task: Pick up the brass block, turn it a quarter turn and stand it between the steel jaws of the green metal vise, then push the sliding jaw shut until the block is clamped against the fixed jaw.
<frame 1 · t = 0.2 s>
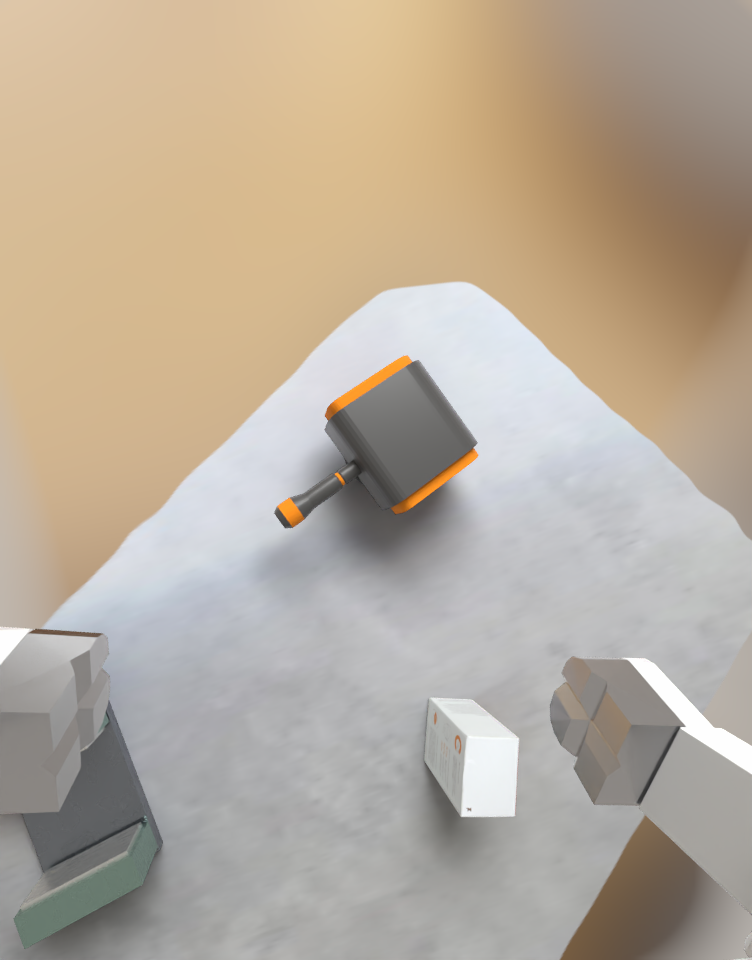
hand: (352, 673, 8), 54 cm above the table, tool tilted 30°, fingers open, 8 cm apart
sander: (356, 469, 64), on the table
vise: (80, 780, 53), on the table
small box: (448, 728, 63), on the table
sliding jaw: (40, 745, 49), point 5 cm above the table, slide at 0.0 cm
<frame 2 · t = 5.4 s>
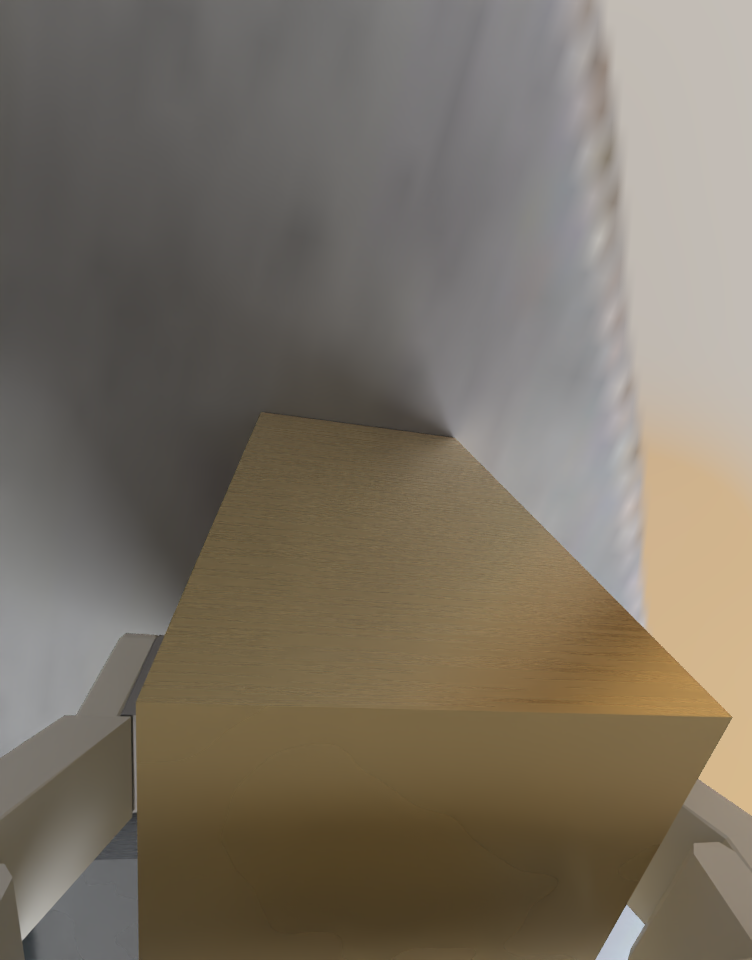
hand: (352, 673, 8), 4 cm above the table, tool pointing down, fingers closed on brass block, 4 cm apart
vise: (255, 909, 17), on the table
brass block: (340, 557, 12), on the table, touching gripper
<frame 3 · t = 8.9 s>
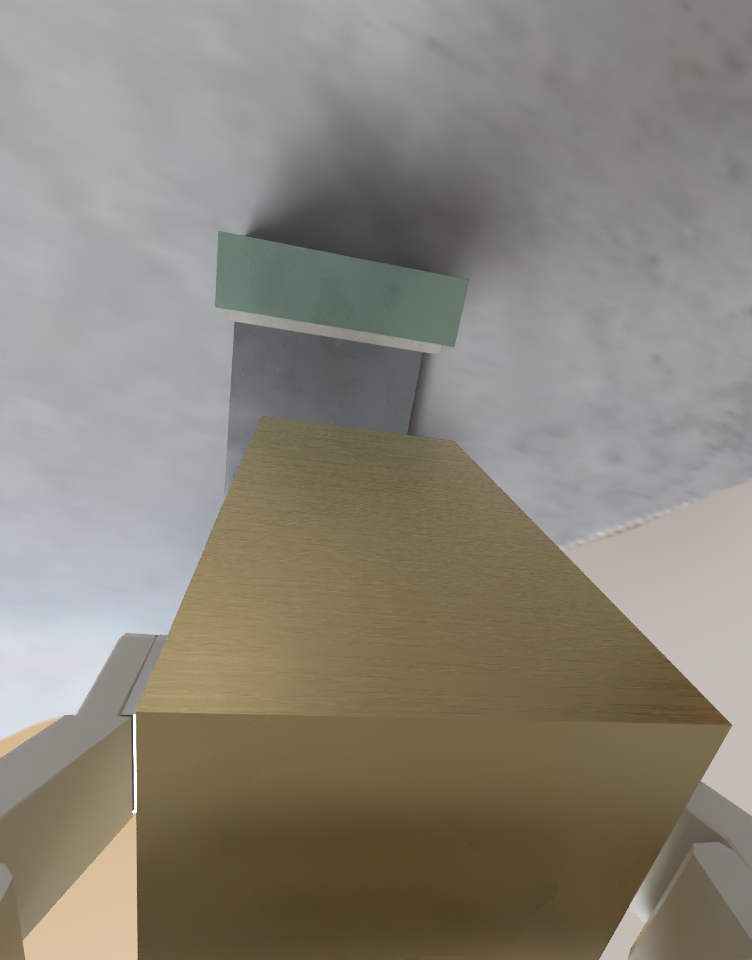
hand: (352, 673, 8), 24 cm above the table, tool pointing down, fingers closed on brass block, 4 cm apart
vise: (318, 431, 31), on the table
sliding jaw: (307, 550, 29), point 5 cm above the table, slide at 0.0 cm
brass block: (339, 560, 12), point 20 cm above the table, touching gripper
when the fingers open (6 cm above the table, at t = 12.4 s): brass block stays where it is, resting on vise.
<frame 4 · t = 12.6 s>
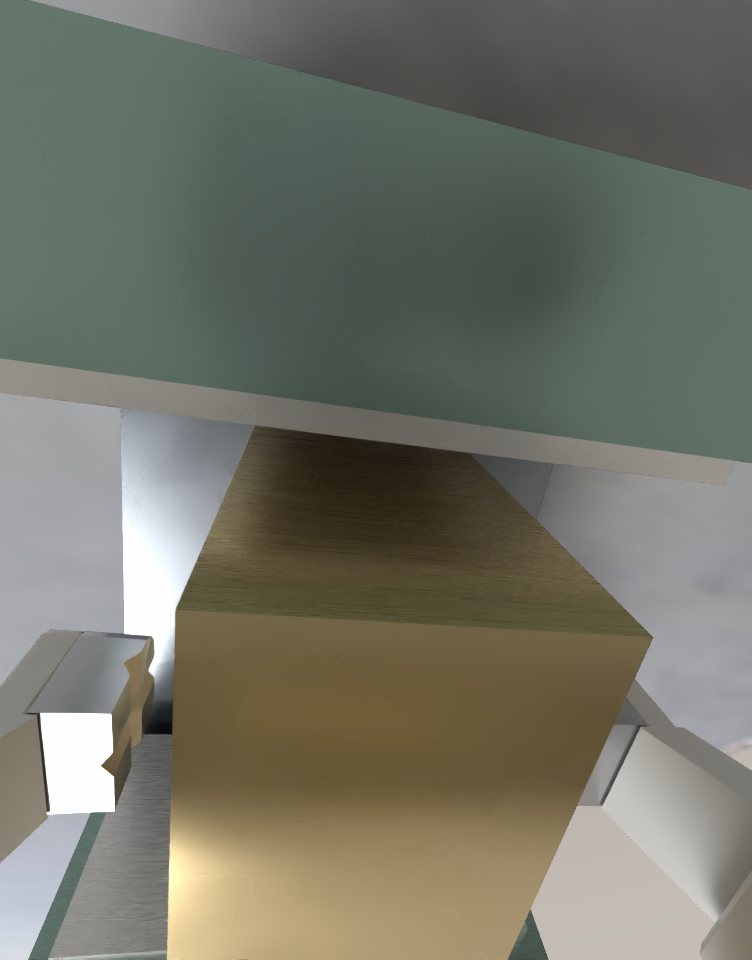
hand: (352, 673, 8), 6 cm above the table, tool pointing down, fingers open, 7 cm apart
vise: (327, 574, 15), on the table
sliding jaw: (302, 865, 13), point 5 cm above the table, slide at 0.0 cm
brass block: (338, 540, 13), point 1 cm above the table, touching vise
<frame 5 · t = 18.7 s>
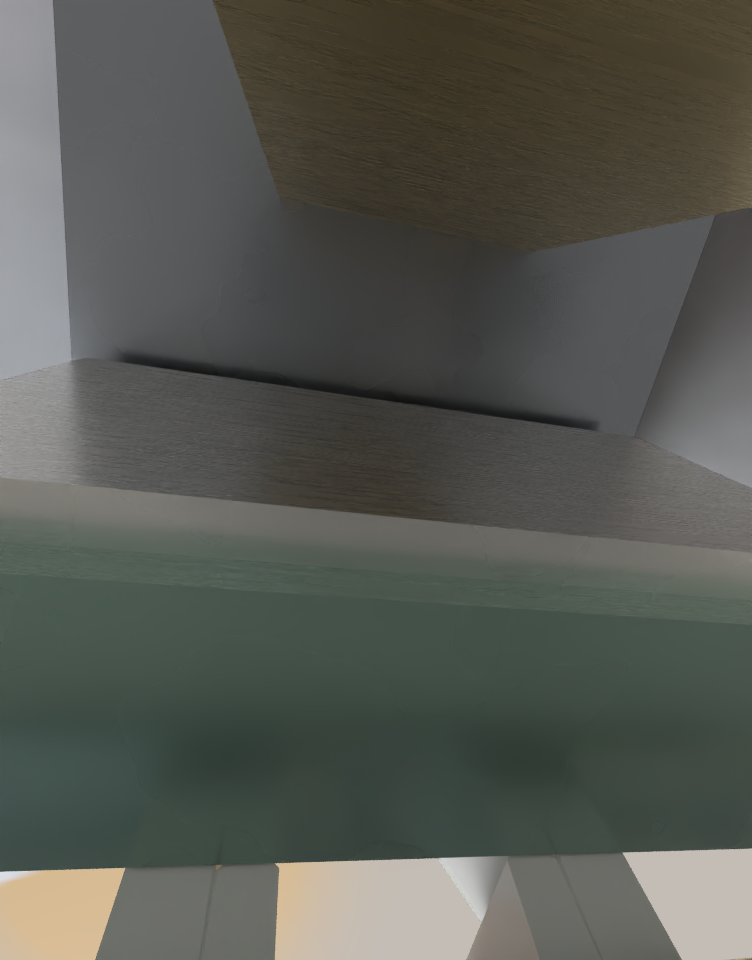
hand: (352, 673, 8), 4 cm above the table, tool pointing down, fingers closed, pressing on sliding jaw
vise: (412, 152, 9), on the table
sliding jaw: (393, 558, 7), point 5 cm above the table, slide at 0.1 cm, touching gripper
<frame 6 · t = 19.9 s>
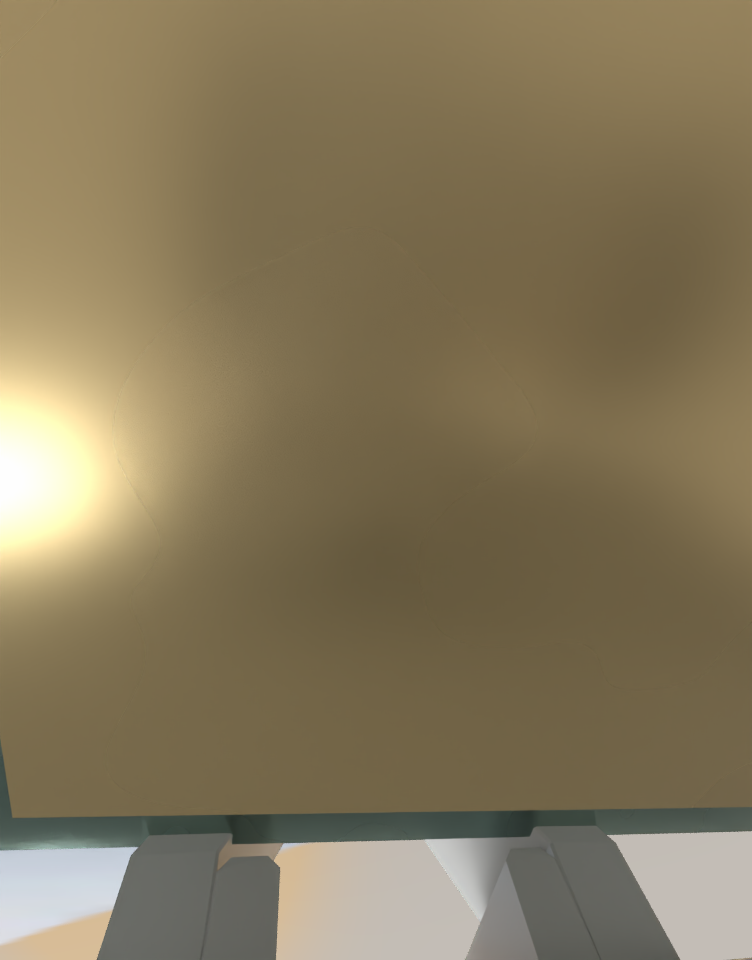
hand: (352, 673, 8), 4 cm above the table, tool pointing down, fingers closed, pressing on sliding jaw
sliding jaw: (384, 558, 7), point 5 cm above the table, slide at 4.0 cm, touching brass block, gripper
brass block: (410, 198, 8), point 1 cm above the table, touching sliding jaw, vise
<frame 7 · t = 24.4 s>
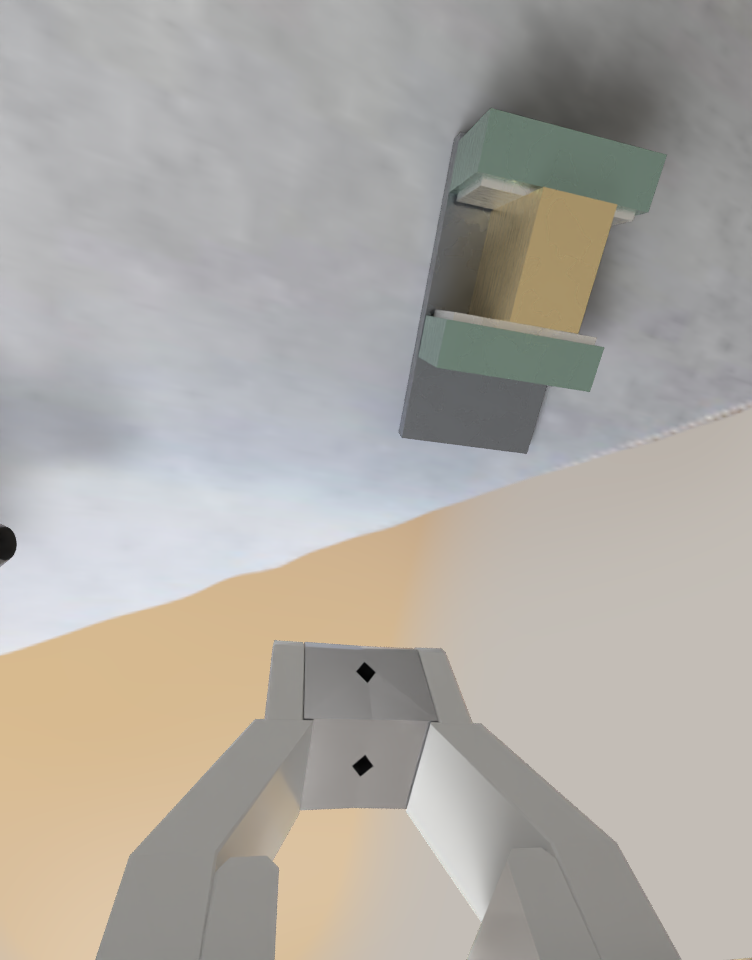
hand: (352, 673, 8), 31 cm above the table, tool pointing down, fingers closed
vise: (490, 313, 37), on the table
sliding jaw: (506, 348, 33), point 5 cm above the table, slide at 4.0 cm, touching brass block
brass block: (508, 270, 34), point 1 cm above the table, touching sliding jaw, vise
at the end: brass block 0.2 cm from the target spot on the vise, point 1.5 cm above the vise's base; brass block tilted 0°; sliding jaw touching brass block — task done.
